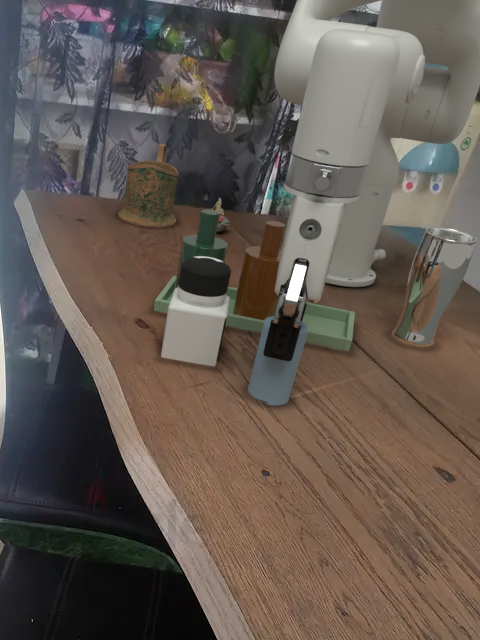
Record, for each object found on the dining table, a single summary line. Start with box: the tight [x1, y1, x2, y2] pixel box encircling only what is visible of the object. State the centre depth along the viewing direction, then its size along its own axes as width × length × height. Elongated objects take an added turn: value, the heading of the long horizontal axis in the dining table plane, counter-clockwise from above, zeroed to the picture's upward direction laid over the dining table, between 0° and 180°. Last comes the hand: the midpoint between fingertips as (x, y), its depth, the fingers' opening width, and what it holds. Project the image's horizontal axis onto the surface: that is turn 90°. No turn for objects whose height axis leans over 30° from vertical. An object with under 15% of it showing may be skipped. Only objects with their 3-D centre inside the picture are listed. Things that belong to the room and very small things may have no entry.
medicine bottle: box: [160, 256, 232, 367], centre depth 92 cm, size 7×7×12 cm
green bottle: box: [175, 208, 229, 289], centre depth 105 cm, size 6×6×13 cm
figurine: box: [211, 197, 231, 233], centre depth 140 cm, size 5×4×6 cm
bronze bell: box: [117, 143, 179, 228], centre depth 144 cm, size 12×18×12 cm, turn 167°
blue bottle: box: [247, 300, 309, 407], centre depth 84 cm, size 5×5×12 cm
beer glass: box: [391, 226, 478, 347], centre depth 102 cm, size 7×7×15 cm
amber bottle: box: [233, 220, 286, 320], centre depth 103 cm, size 6×6×13 cm
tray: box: [153, 275, 356, 352], centre depth 107 cm, size 28×12×2 cm, turn 72°
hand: (281, 344), depth 84 cm, fingers open, 6 cm apart
